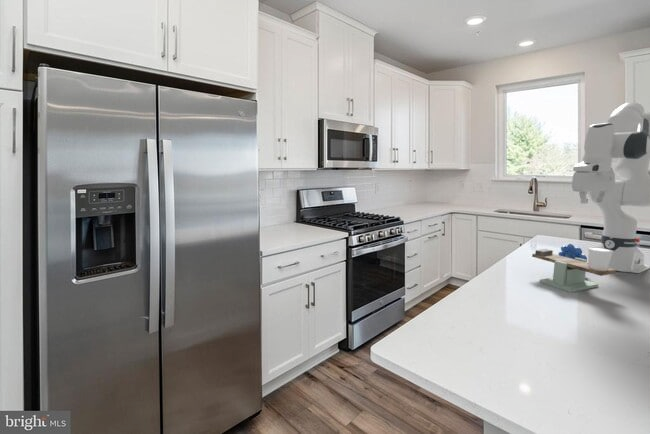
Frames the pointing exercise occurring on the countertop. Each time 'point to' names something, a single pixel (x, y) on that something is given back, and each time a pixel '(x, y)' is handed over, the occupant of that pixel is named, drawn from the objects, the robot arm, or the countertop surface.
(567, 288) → the pivot stand
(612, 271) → the seesaw beam
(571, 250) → the grapes
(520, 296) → the countertop surface
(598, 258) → the white cup
